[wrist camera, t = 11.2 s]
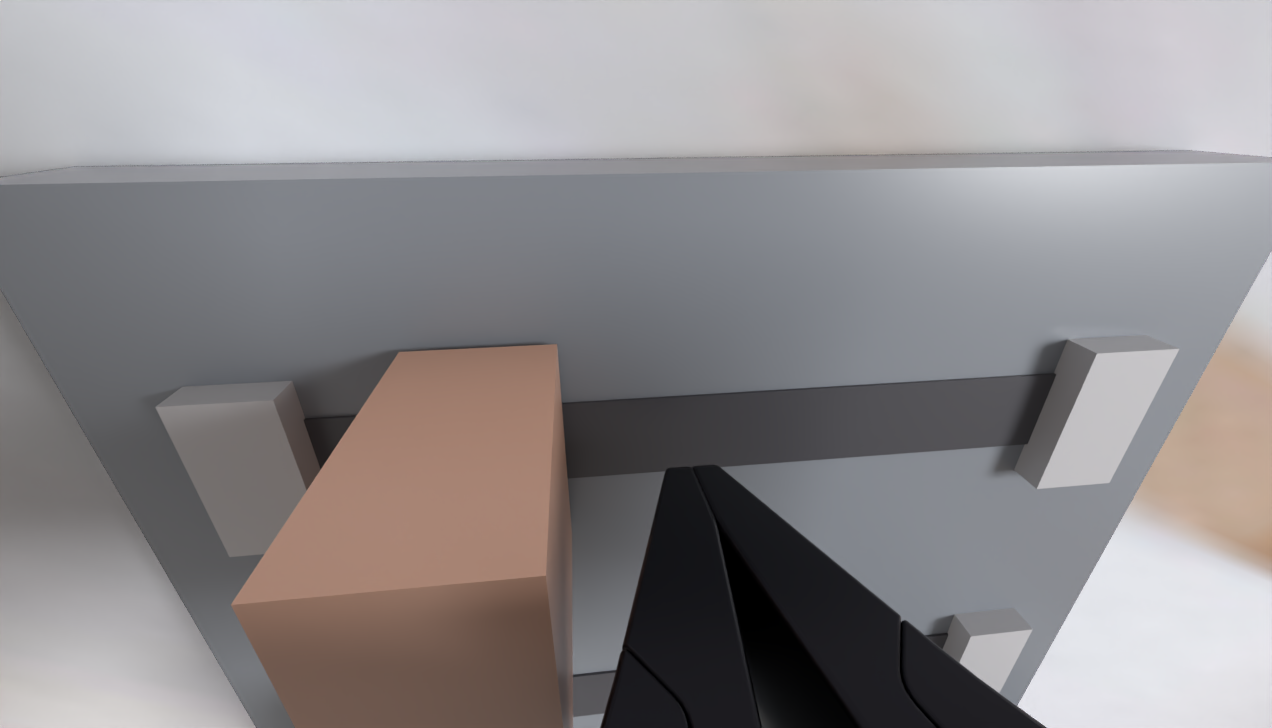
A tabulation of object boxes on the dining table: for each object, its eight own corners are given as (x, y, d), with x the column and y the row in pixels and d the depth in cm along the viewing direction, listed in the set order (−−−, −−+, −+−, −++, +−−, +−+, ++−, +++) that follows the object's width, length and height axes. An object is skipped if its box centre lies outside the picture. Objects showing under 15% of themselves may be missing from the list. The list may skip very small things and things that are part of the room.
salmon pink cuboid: (556, 344, 8) (546, 575, 4) (572, 532, 10) (573, 817, 6) (399, 351, 8) (231, 603, 4) (443, 543, 10) (357, 847, 6)
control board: (1192, 150, 10) (1371, 165, 8) (906, 785, 21) (947, 869, 19) (74, 166, 8) (-116, 194, 6) (395, 858, 19) (371, 961, 17)
